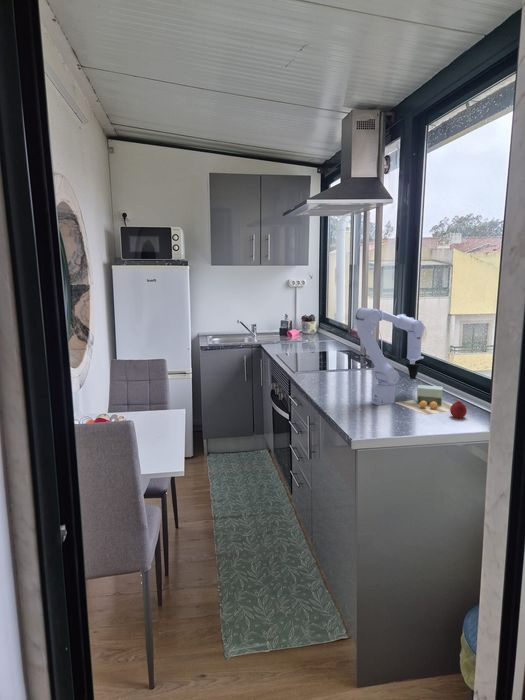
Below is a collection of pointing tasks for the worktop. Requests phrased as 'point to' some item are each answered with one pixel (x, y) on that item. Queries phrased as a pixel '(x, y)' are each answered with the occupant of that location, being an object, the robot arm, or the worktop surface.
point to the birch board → (427, 410)
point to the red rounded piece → (458, 409)
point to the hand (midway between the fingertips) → (413, 376)
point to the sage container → (429, 393)
